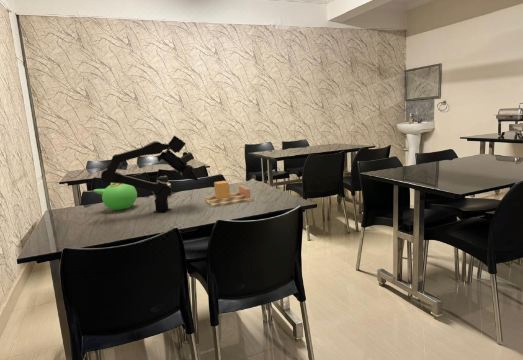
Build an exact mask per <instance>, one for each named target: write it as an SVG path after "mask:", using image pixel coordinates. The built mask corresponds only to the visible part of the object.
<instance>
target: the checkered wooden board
mask: <svg viewBox="0 0 523 360" xmlns="http://www.w3.org/2000/svg"><path fill="white" fill-rule="evenodd" d="M229 194H230V197H228V198H222V199H215V195H212V196H206V197H204V199H203V200H204V203H206V204H207V205H208V206H210V207H211V208H216V207H221V206H228V205H234V204H241V203H246V202H252V201H254V200H253V198H252V196H251V194H250V199H246V195H242V196H241V193H240V192H239V191H238V192H233V193H229Z"/></svg>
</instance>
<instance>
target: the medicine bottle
mask: <svg viewBox="0 0 523 360" xmlns="http://www.w3.org/2000/svg"><path fill="white" fill-rule="evenodd" d="M157 180H159V181H161V182H165V183H166V184H167V185H168V186H169V187H170V188H171V193H170V195H169V196H168V199H169V198H171V197H172V196H173V191H172V184H171V183H169V177H168V176H167V175H163V176H162V175H161V176H158V177H156V181H157Z"/></svg>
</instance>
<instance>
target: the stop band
mask: <svg viewBox="0 0 523 360" xmlns="http://www.w3.org/2000/svg"><path fill="white" fill-rule="evenodd" d="M238 192H240V193H241V196H242V195H246V199H250V195H251V189H250V188H249V187H246V186H245V185H242V184H241V185H238Z"/></svg>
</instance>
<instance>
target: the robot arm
mask: <svg viewBox="0 0 523 360" xmlns="http://www.w3.org/2000/svg"><path fill="white" fill-rule="evenodd" d="M185 146H186V143H185V142H184V141H183V140H182V139H180V138H179V137H178V136H176V135H173V136H172V138H171V140H169V141H168V143H161V142H159V141H157V140H154V141H151V142H149V143H148V144H146V145H143V146H142V147H139V148H135V149H132V150H128V151H124V152H121V153H115V154H113V155H112V157H111V160H110V161H109V162H108V165H107V167H106V168H104V169H103V170H101V173H100V178H101V180H102V181H103V182H105V183H110V184H111V183H123V184H127V185H131V186H134V188H135V187H136V188H139V189H143V190H147V191H151V192H152V193H153V197H154V198H155V199H154V205H155V210H154V211H152V212H153V213H156V214H157V213H158V214H162V213H163V214H165V213H167V212H169V211H172V208H169V198H168V196H169V195H170V193H171V189H172V187H171V188H170V187H169V186H168V185H167V184H166V183H165V182H161V181H159V180H157V179H156V182H152V181H148V180H144V179H141V178H137V177H133V176H129V175H125V174H122V173H120V172H118V171H117V169H118V168H119V166H120V163H123V162H126V161H129V160H134V159H137V158H140V157H143V156H149V155H150V156H151V155H156V160H157V162H158V163H159V162H161V161H164V162H165V163H166V164H167V165H168V166H170V167H171V168H173V169H174V170H175V172H176V173H178V174H180V175H181V176H182V177H183V178H184V179H189V180H192V181H198V180H199V178H198V177H197V175H196V174H195V173H194V172H193V171H194V170H193V169H194V167H193V166H192V165H191V164H188V163H189V162H190V161H192V160H194V159H195V156H194V155H193V153H192V152H191V151H189V152H187V151H184V152H182V156H181V157H180V156H177V154H176V153H180V152H181V150H183V148H184V147H185Z"/></svg>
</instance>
